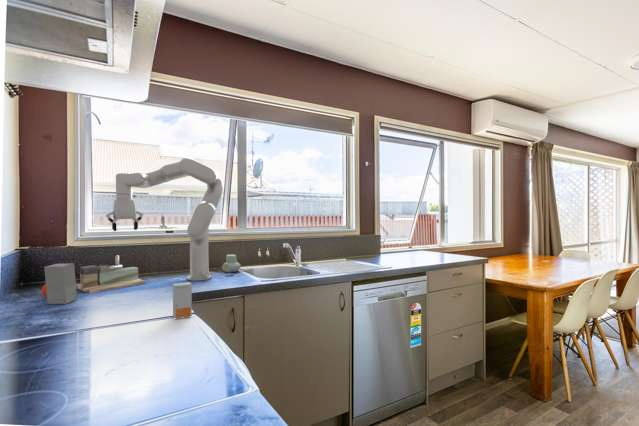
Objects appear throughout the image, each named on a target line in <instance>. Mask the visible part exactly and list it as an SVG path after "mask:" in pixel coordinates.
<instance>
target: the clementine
mask: <svg viewBox="0 0 639 426" xmlns="http://www.w3.org/2000/svg"><path fill="white" fill-rule="evenodd" d="M41 294H42V295H43V296H44V297H45V298H47V292H46V283H45V284H43V286H42V287H41Z"/></svg>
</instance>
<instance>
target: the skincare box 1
mask: <svg viewBox="0 0 639 426" xmlns="http://www.w3.org/2000/svg"><path fill="white" fill-rule="evenodd" d="M43 268H44V277H45V284H46V292H47V297H46V301H47V302H46V303H47V305H66V304H68V303H69V304H70V303H72V302H75V301H77V300H78V292H77V288H76V285H77V281H76V271H75V269H76V268H75V263H74V262H73V263H54V264H51V265H50V264H49V265H46V266H44V267H43Z"/></svg>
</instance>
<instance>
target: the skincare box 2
mask: <svg viewBox="0 0 639 426" xmlns="http://www.w3.org/2000/svg"><path fill="white" fill-rule="evenodd" d="M192 285H193V284H192V283H191V282H190V281H187V282H177V283H173V284H172V317H174V318H182V317H190V316H192V315H193V313H192V307H193V306H192V305H193V304H192V299H193V298H192V296H193V295H192V294H193V291H192V290H193V289H192V287H193V286H192ZM192 317H193V316H192ZM174 318H173V319H174ZM182 319H183V318H182Z"/></svg>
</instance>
